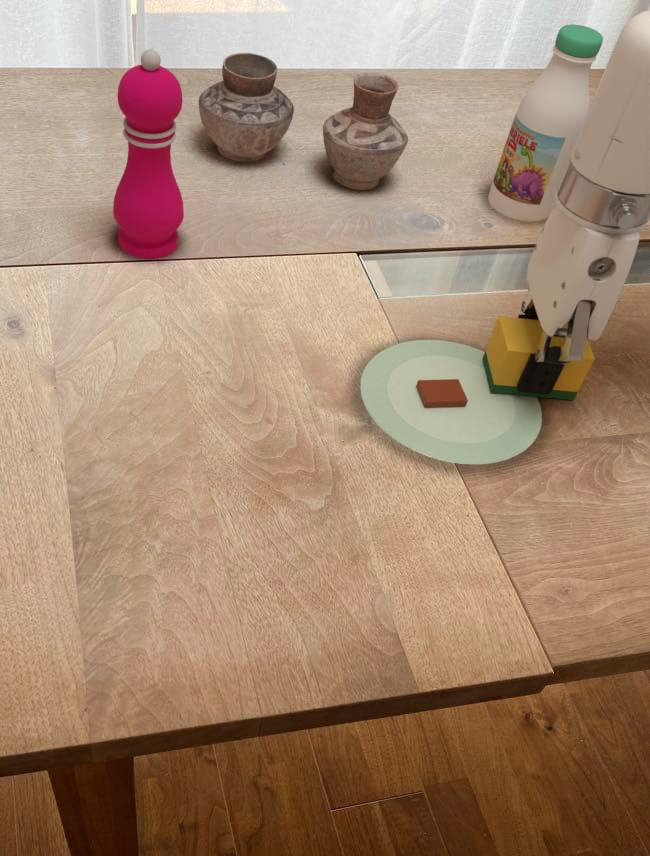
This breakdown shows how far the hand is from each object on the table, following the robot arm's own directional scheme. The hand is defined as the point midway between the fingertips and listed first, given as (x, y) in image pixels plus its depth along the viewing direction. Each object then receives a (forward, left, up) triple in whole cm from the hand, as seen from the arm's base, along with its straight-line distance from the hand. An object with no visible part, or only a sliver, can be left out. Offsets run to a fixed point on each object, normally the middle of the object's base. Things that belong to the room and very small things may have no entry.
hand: (527, 369), depth 84 cm
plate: (+7, +4, -2) cm, 9 cm away
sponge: (0, 0, -1) cm, 1 cm away
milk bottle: (-6, -33, -3) cm, 34 cm away
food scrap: (+8, +4, -1) cm, 9 cm away
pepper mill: (+37, -17, -3) cm, 41 cm away
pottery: (+21, -37, -3) cm, 43 cm away
